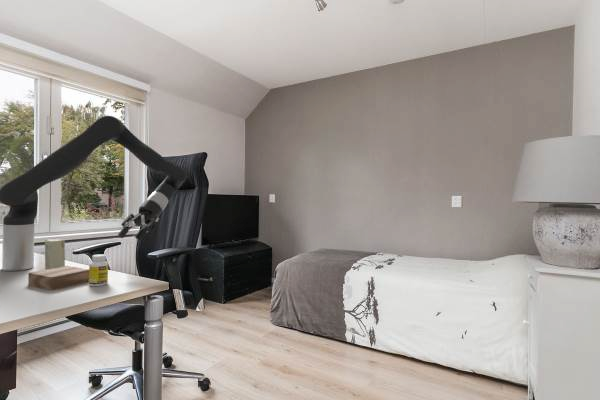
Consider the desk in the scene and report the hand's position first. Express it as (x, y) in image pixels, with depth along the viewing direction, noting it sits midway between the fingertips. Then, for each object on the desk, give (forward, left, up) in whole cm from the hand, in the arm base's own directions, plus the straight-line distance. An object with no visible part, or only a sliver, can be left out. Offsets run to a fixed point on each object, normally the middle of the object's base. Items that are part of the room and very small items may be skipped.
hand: (128, 237), depth 121 cm
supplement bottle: (0, -11, -15) cm, 19 cm away
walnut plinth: (-12, -16, -14) cm, 25 cm away
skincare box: (-28, -8, -15) cm, 33 cm away
